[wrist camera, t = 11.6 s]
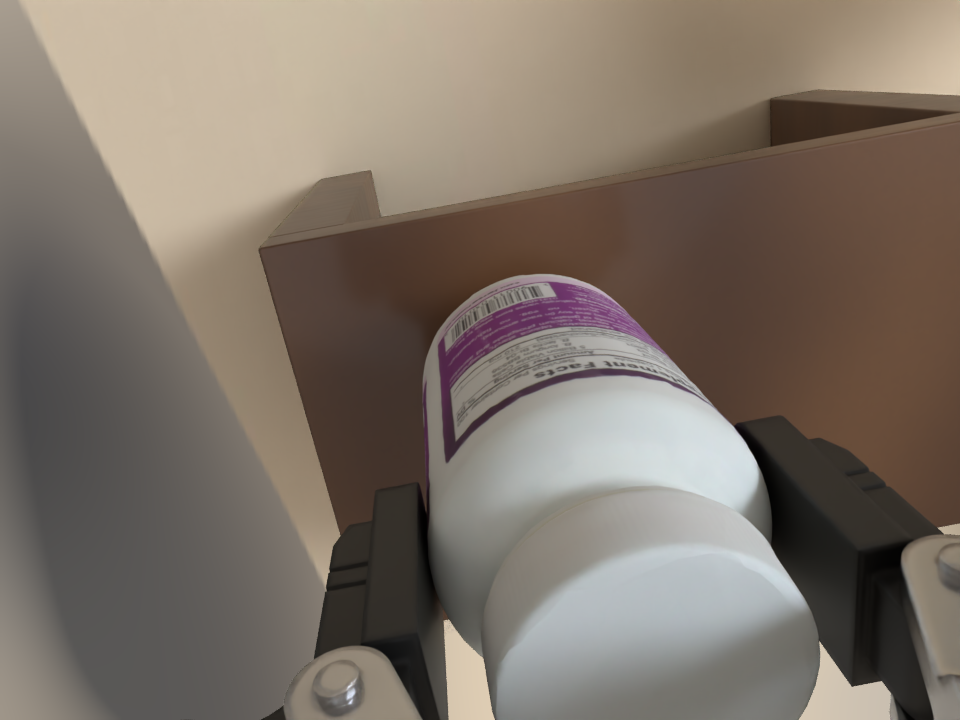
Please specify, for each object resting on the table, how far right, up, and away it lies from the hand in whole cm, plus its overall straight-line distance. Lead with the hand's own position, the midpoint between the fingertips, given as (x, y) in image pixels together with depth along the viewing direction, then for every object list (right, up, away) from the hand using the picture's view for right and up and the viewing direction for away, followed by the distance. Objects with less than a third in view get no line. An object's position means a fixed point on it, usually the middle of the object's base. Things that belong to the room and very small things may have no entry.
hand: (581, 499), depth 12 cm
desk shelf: (+3, +6, +18) cm, 19 cm away
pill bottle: (0, +2, +5) cm, 6 cm away
